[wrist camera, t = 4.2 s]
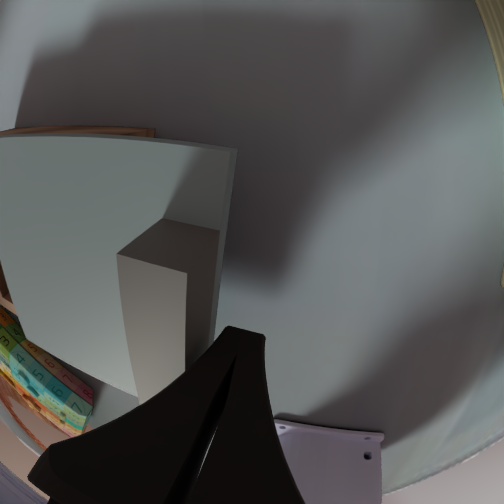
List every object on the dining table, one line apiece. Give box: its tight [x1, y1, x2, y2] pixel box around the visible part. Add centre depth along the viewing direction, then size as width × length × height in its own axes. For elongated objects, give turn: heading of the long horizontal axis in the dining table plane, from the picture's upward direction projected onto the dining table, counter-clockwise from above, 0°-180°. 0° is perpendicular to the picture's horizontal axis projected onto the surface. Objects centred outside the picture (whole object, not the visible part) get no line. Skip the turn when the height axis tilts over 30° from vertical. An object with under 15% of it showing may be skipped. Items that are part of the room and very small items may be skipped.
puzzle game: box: [0, 306, 93, 437], centre depth 24 cm, size 12×5×20 cm
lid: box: [0, 133, 238, 405], centre depth 10 cm, size 12×12×3 cm
